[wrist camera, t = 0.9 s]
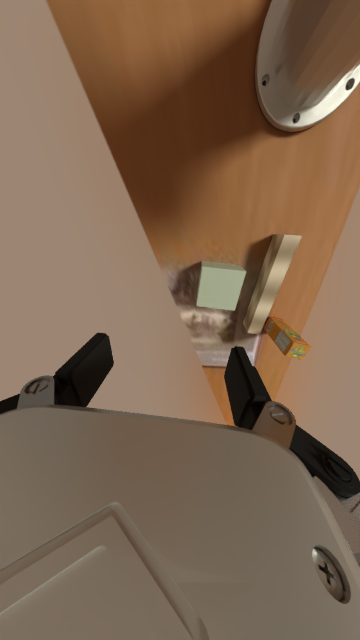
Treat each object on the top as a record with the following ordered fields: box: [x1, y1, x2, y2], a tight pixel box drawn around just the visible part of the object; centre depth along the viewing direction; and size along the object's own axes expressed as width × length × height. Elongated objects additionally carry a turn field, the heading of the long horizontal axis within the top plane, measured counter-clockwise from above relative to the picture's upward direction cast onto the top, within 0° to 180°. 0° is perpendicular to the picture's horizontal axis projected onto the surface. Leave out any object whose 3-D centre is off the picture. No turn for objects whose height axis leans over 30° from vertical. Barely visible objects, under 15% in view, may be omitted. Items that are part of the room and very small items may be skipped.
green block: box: [196, 261, 246, 311], centre depth 29 cm, size 7×7×6 cm
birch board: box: [243, 234, 302, 334], centre depth 29 cm, size 18×2×4 cm, turn 175°
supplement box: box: [263, 317, 311, 360], centre depth 30 cm, size 3×3×10 cm
